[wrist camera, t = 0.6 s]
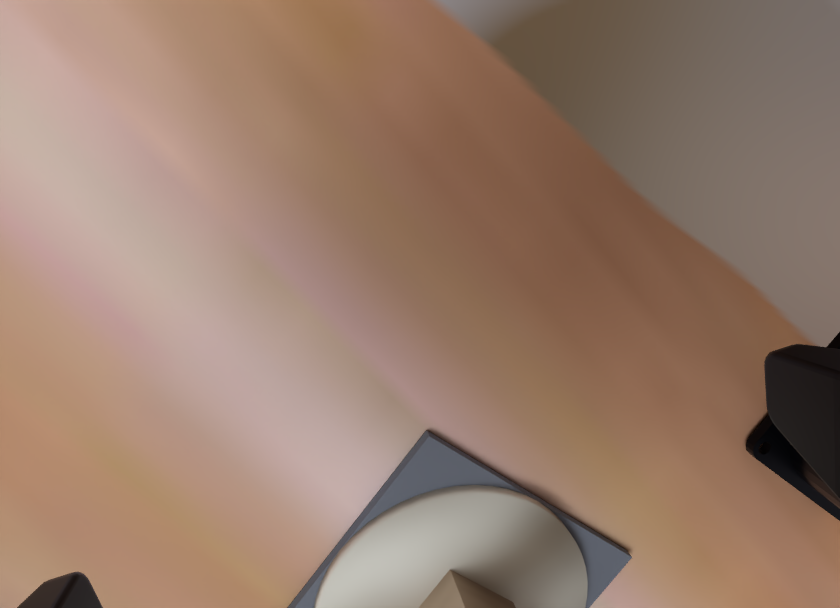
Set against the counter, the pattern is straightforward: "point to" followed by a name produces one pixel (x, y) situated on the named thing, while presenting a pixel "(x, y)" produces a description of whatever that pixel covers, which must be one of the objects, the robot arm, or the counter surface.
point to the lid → (459, 555)
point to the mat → (451, 467)
